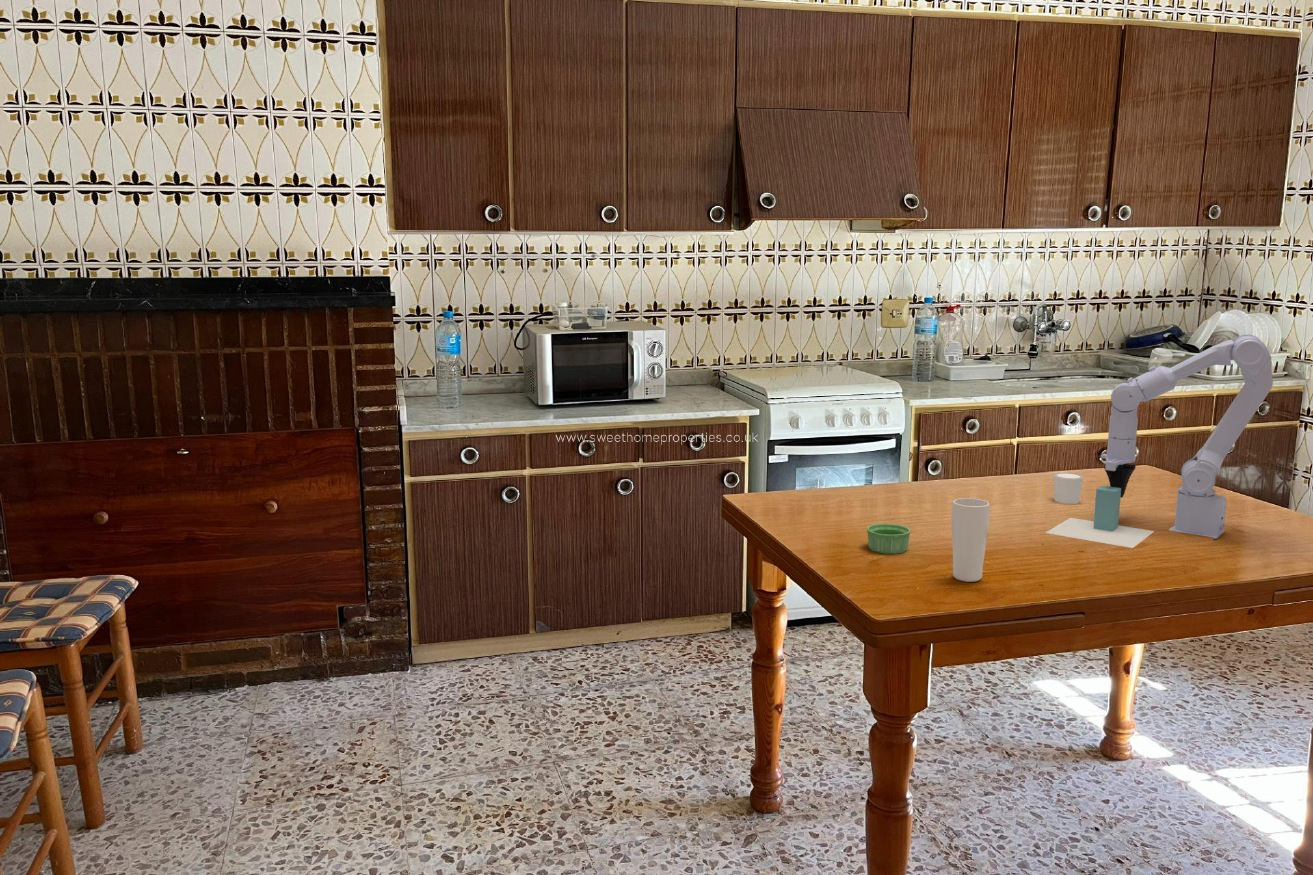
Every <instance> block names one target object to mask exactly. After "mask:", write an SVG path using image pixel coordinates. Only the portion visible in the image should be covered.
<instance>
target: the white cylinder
mask: <svg viewBox="0 0 1313 875" xmlns="http://www.w3.org/2000/svg"><path fill="white" fill-rule="evenodd" d="M1052 478H1053V500H1054V502H1056V503H1060V504H1063V505H1065V504H1066V505H1075V504H1079V503H1080V500H1081V496H1082V489H1083V483H1084V478H1085V477H1084V476H1083V475H1081V474H1077V473H1071V472H1069V473H1068V472H1058V473H1054V474H1053V477H1052Z"/></svg>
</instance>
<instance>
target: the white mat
mask: <svg viewBox="0 0 1313 875" xmlns="http://www.w3.org/2000/svg"><path fill="white" fill-rule="evenodd" d="M1153 533H1155V530H1151V529H1150V530H1148V529H1143V528H1138V527H1137V528H1136V527H1131V526H1124V525H1119V524H1118V528H1117V529H1116V530H1114V531H1113V532H1112V531H1106V530H1100V529H1094V520H1088V519H1083V518H1082V519H1080V518H1075V517H1069V518H1068V519H1066V520H1064V521H1062V522H1061V523H1059V524H1056V526H1054V527H1053V528H1051V529H1049V530H1047V531H1045V534H1049V535H1054V536H1059V537H1060V536H1061V537H1066V538H1072V539H1078V540H1083V541H1090V542H1095V543H1099V544H1100V543H1101V544H1107V545H1110V546H1111V545H1112V546H1118V547H1124V548H1130V549H1133V548H1135V547H1136V546H1138V545H1139V544H1140V543H1142V542H1143V541H1144V540H1145V539H1147V538H1148V537H1150V536H1151V535H1152V534H1153Z"/></svg>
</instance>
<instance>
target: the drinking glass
mask: <svg viewBox="0 0 1313 875" xmlns="http://www.w3.org/2000/svg"><path fill="white" fill-rule="evenodd" d="M952 501H953V502H952V508H951V538H952V540H951V542H952V544H951V545H952V576H953V577H954V578H955V579H956V580H958V581H962V582H968V583H971V582H974V583H975V582H978V581H980V580H981V579H982V578H983V568H984V561H985V554H986V547H987V539H988V534H989V533H988V532H989V527H990V526H989V525H990V502H989V501H987V500H984V499H980V498H973V497H962V498H956V499H954V500H952Z"/></svg>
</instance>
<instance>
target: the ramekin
mask: <svg viewBox="0 0 1313 875" xmlns="http://www.w3.org/2000/svg"><path fill="white" fill-rule="evenodd" d="M911 532H912V530H911V529H910V528H909V527H908V526H905V525H902V524H897V523H875V524H870V525H867V527H866V533H867V543H868V548H869V550H870V551H873V552H875V553H878V552H879V554H885V555H886V554H887V555H890V554H891V555H897V554H903V553H906V552H907V550H908V549H909V540H910V535H911Z"/></svg>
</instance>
